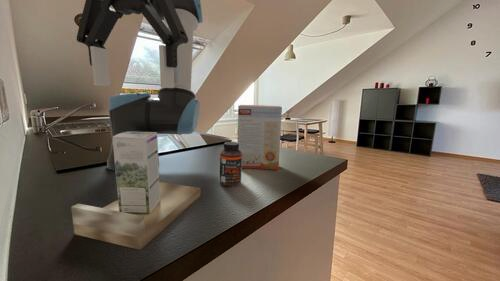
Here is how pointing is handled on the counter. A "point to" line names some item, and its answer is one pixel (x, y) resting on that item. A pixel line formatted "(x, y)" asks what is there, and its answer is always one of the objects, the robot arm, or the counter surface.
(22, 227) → the counter surface
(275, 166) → the cracker box
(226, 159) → the supplement bottle
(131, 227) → the shelf board
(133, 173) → the syrup box
